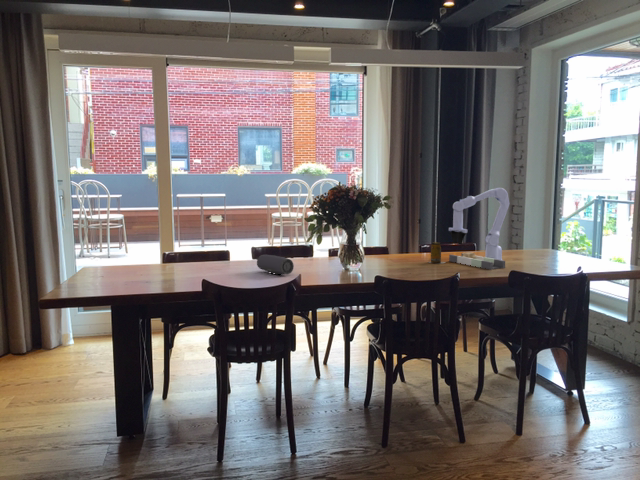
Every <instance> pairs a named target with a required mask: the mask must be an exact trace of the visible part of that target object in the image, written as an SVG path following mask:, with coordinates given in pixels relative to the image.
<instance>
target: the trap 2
mask: <svg viewBox="0 0 640 480" xmlns="http://www.w3.org/2000/svg"><path fill="white" fill-rule="evenodd" d="M498 269H504V268H503V267H498V266H493V269H492V270H498Z"/></svg>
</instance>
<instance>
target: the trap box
mask: <svg viewBox="0 0 640 480" xmlns="http://www.w3.org/2000/svg"><path fill="white" fill-rule="evenodd" d="M463 253H464V252H462V253H461V255H456V254H449V256H448V257H449V259H448V261H449V262H451V263H455V262H456V263H457V264H460V263H461V264H462V265H465V264H466V266H470V265H471V267H475V266H476V267H477V268H480V267H481V269H485V268H486V270H491V271H492V270H494V269H493V266H498V267H503V268H502V269H505V268H506V260H504V259H502V260H498V259H493V258H487V257H485V256H482V255H476V254H475V259H473V258H467V257H463ZM476 267H475V268H476Z"/></svg>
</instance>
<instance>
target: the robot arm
mask: <svg viewBox="0 0 640 480" xmlns="http://www.w3.org/2000/svg"><path fill="white" fill-rule="evenodd" d="M487 198H494V199H496V200H497V202H498V203H499V206H498V209H497V212H496V215H495V218H494V221H493V224H492V226H491V228H490V230H489V232H488V234H487V235H486V236H485V239H484V241H485V243H486V244H485V253H484V254H485V256H484V257H487V258H493V259H498V260H503V250H502V249H503V248H502V247H501V246H500V245H499V243H500V239H499V238H500V232H501V229H502V226H503V223H504V220H505V218H506V215H507V213H508V210H509V208H510V198H509V193H508V191H507V190H506V189H505V188H503V187H495V188H492V189H489V190H486V191H484V192H482V193H479V194H478V195H475V196H472V195H468V196H466V198H462V199H459V201H455V202H454V203H453V204H452V209H453V213H452V215H453V217H452V219H453V220H452V227H448V232H449V234H450V236H451V239H452V242H453V244H458V245H462V244H463V241H464V238H465V237H466V234H468V229H466V228H464V209H468V208H470V207H472V206H474V205H476V203H478V202H479V201H482V200H484V199H487Z"/></svg>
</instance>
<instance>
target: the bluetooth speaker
mask: <svg viewBox="0 0 640 480" xmlns="http://www.w3.org/2000/svg"><path fill="white" fill-rule="evenodd" d="M256 266H257V268H258V269H260V270H263V271H266V272H267V273H268V272H271V273H275V274H282V275H289V274H291V273H292V272H293V271H294V262H293V261H292V260H291V259H290V258H287V257H284V256H278V255H271V254H260V255H259V256H258V257H257V260H256Z"/></svg>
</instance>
